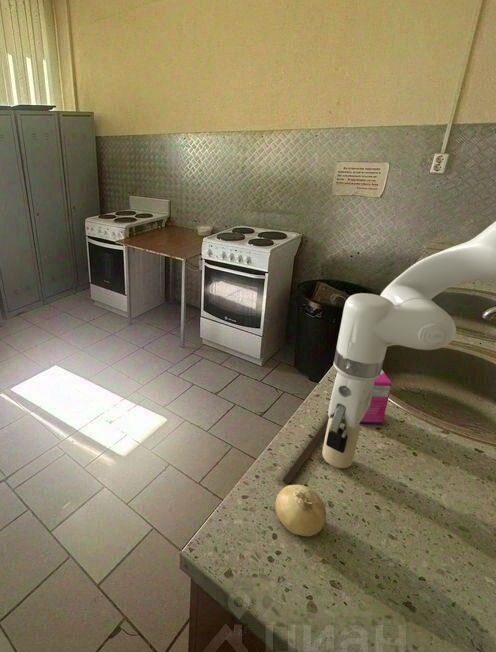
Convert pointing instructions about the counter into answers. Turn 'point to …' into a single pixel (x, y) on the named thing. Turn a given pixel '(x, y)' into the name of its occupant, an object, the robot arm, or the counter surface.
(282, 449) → the counter surface
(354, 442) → the candle
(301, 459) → the dark brown thin rod
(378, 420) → the supplement box
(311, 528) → the onion
